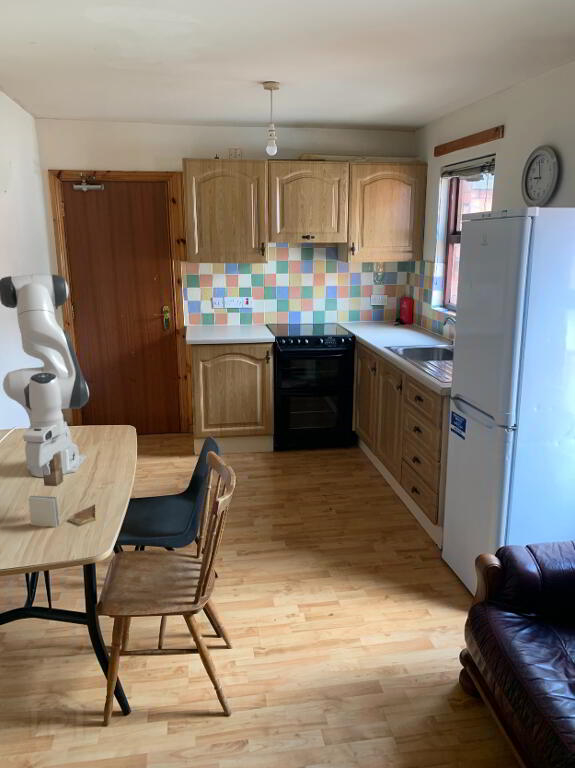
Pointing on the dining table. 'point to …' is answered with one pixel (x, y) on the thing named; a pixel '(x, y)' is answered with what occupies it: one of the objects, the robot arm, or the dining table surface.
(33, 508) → the slate board
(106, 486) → the dining table surface
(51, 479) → the walnut block
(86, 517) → the shard
